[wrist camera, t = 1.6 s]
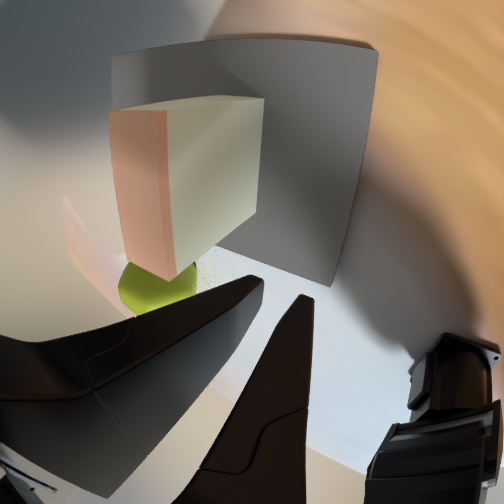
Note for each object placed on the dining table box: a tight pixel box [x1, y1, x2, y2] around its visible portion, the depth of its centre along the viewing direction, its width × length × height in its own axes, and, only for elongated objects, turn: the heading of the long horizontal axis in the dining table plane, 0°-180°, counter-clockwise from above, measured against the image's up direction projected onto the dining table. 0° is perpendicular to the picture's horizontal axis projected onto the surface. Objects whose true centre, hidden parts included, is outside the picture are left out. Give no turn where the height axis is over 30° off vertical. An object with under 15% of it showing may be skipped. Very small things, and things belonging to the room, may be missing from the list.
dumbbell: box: [118, 262, 197, 315], centre depth 30 cm, size 16×8×7 cm, turn 174°
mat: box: [112, 39, 379, 287], centre depth 20 cm, size 22×16×1 cm
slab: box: [108, 95, 264, 282], centre depth 16 cm, size 3×8×9 cm, turn 177°
